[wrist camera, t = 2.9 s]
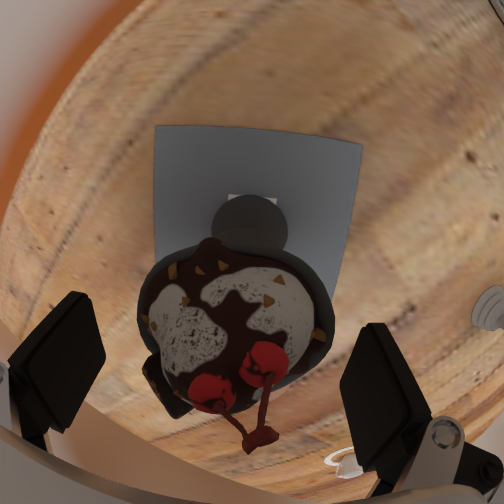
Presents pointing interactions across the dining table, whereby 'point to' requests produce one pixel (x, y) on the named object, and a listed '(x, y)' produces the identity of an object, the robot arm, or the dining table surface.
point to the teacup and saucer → (346, 464)
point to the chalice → (490, 309)
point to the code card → (256, 187)
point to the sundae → (233, 318)
